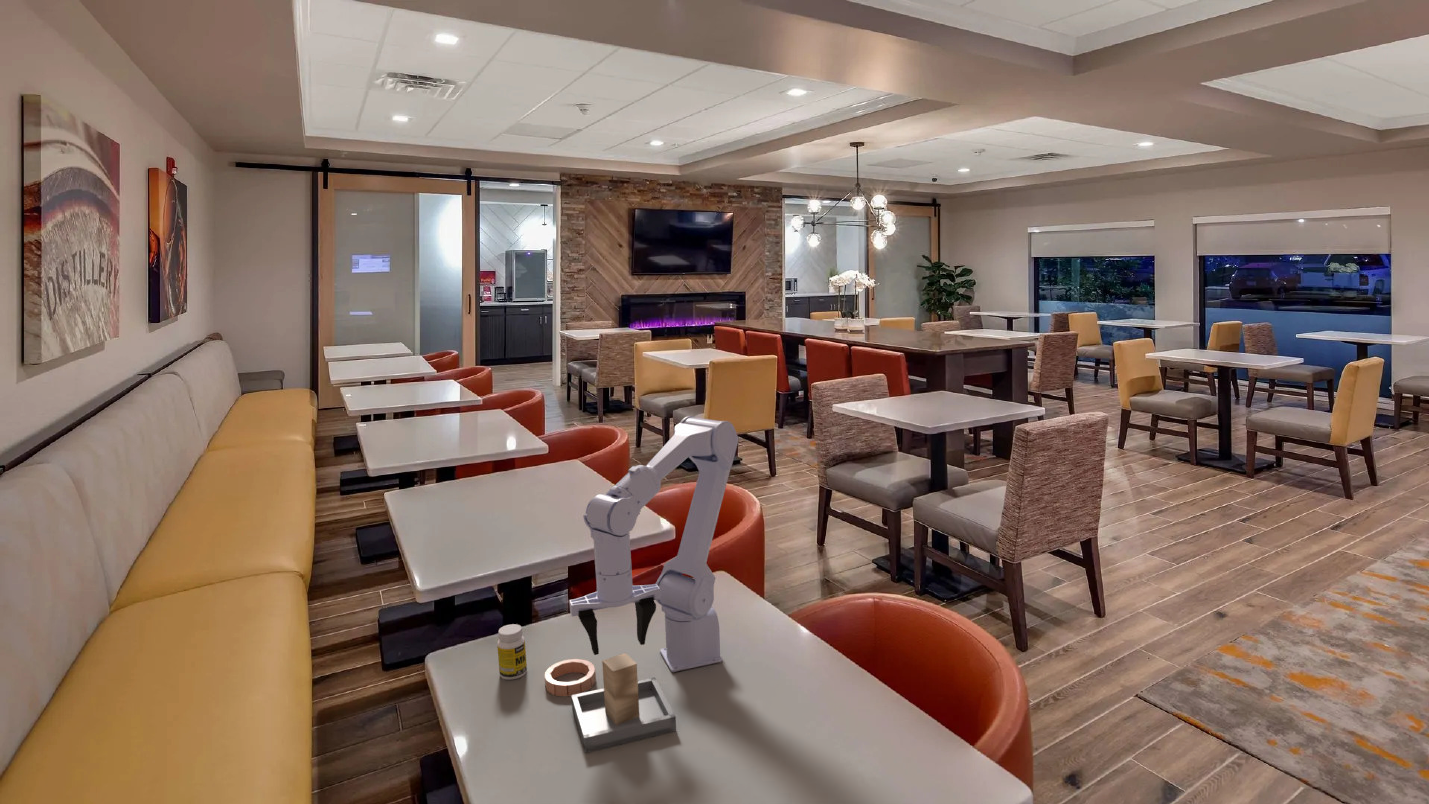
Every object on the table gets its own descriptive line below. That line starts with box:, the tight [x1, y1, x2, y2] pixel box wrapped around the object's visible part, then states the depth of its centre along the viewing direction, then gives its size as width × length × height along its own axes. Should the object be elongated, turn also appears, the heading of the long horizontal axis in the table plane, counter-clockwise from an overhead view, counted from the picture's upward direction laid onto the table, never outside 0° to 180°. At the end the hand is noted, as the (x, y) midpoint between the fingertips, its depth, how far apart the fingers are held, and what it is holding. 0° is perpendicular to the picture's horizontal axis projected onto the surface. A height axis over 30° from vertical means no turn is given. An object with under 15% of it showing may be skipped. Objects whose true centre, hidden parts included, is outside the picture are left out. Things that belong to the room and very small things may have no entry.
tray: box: [570, 677, 677, 753], centre depth 118 cm, size 14×12×2 cm
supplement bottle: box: [496, 623, 528, 680], centre depth 132 cm, size 5×5×8 cm
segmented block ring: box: [544, 658, 597, 697], centre depth 129 cm, size 8×8×2 cm
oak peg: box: [601, 652, 639, 725], centre depth 117 cm, size 4×4×9 cm
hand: (618, 646), depth 122 cm, fingers open, 7 cm apart
